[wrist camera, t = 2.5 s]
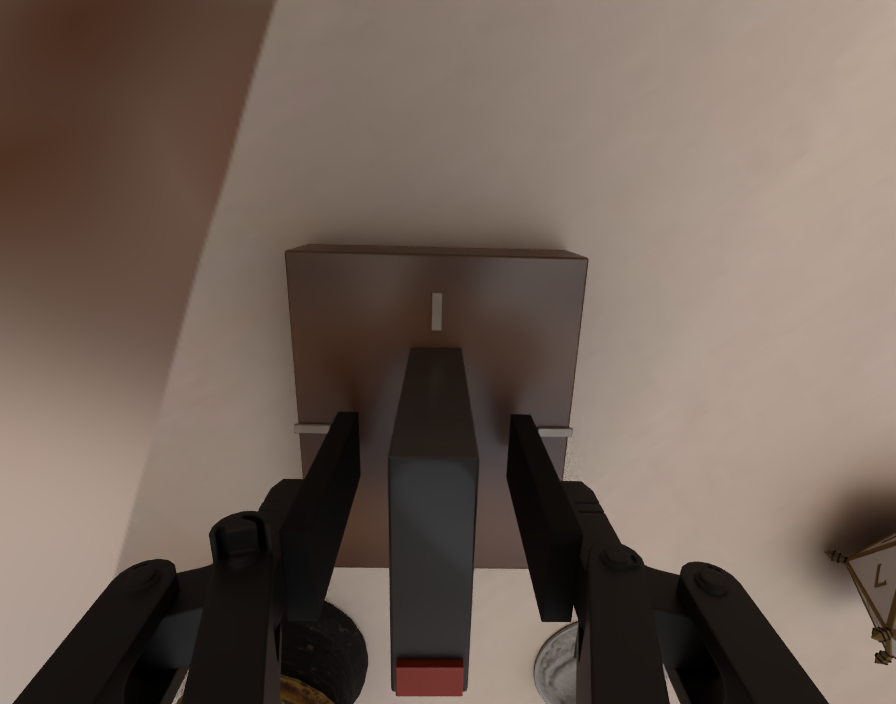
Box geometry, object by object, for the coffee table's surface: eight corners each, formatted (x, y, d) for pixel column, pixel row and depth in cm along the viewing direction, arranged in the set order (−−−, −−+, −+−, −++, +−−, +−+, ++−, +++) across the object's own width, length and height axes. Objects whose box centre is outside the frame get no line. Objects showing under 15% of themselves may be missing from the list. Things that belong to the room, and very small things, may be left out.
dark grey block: (409, 347, 17) (385, 462, 10) (462, 347, 17) (481, 463, 10) (409, 503, 20) (389, 702, 12) (456, 503, 20) (467, 702, 12)
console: (304, 243, 19) (279, 250, 16) (569, 250, 19) (593, 258, 16) (323, 523, 23) (306, 570, 20) (541, 526, 24) (555, 572, 21)
